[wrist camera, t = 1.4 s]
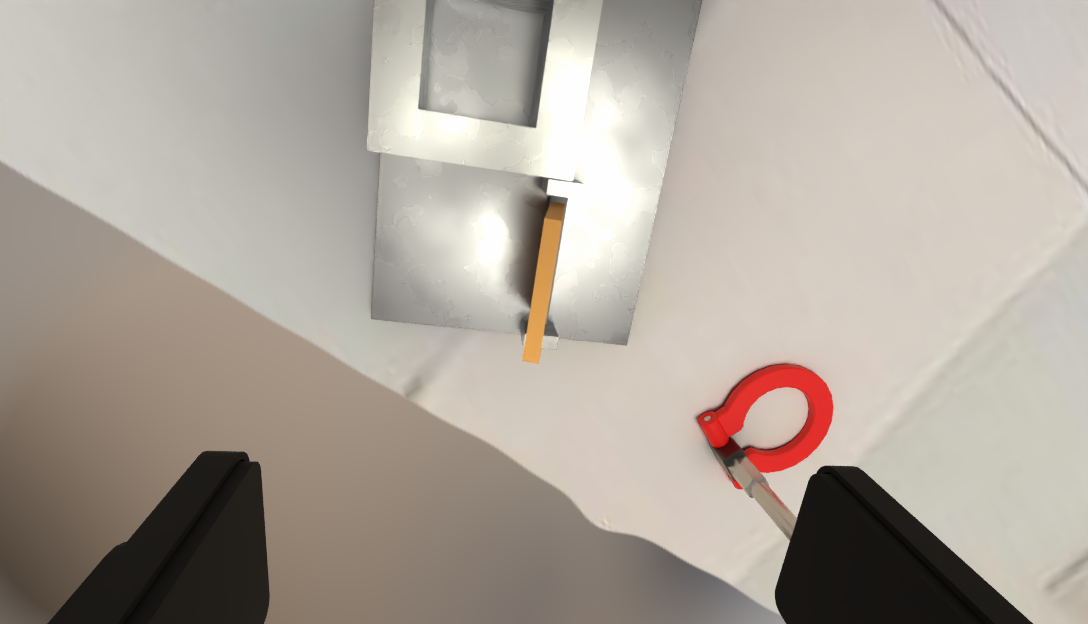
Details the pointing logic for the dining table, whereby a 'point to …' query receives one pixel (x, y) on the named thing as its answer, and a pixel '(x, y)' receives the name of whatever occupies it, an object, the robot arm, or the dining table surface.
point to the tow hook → (753, 461)
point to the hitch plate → (503, 212)
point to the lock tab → (544, 277)
